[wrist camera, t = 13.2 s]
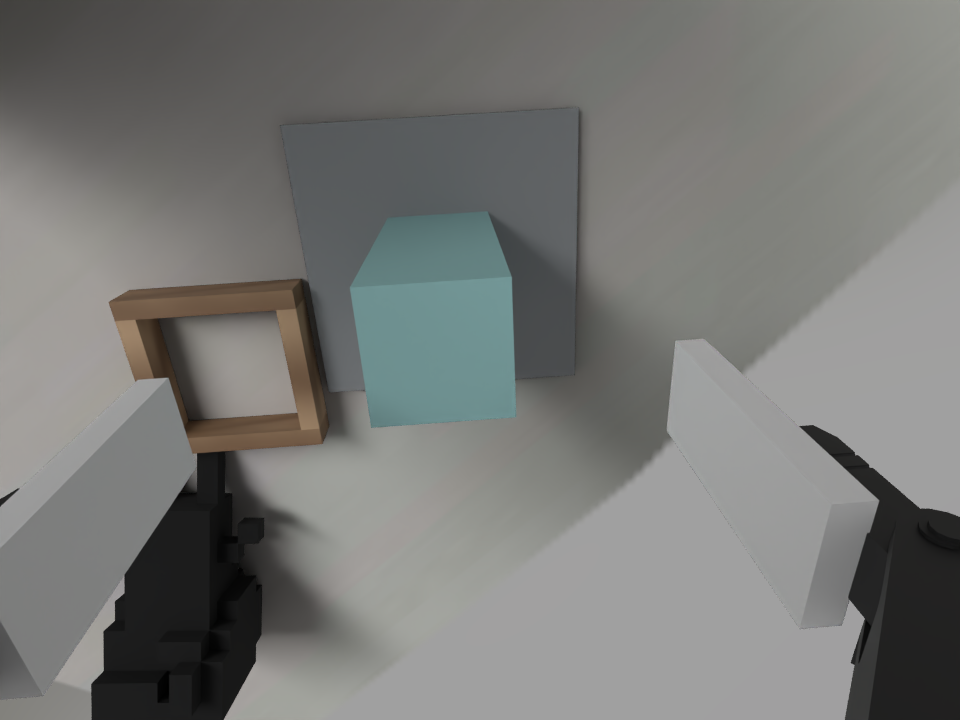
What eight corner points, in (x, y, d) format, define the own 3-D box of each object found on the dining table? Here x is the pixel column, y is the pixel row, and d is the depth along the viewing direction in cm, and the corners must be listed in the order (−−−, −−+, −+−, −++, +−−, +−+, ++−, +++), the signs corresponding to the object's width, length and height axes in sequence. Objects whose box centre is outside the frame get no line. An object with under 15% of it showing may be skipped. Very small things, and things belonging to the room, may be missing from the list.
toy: (237, 460, 30) (235, 736, 31) (280, 431, 38) (278, 650, 39) (51, 458, 29) (55, 740, 30) (135, 429, 37) (137, 652, 38)
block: (387, 217, 28) (350, 287, 18) (487, 211, 29) (511, 276, 18) (399, 312, 31) (371, 427, 20) (492, 305, 31) (516, 417, 20)
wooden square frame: (129, 290, 30) (108, 302, 28) (301, 278, 30) (292, 289, 28) (176, 436, 34) (160, 455, 32) (329, 425, 34) (322, 444, 32)
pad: (283, 125, 27) (279, 125, 27) (576, 107, 27) (578, 107, 27) (330, 387, 33) (328, 392, 32) (572, 370, 33) (574, 375, 33)
